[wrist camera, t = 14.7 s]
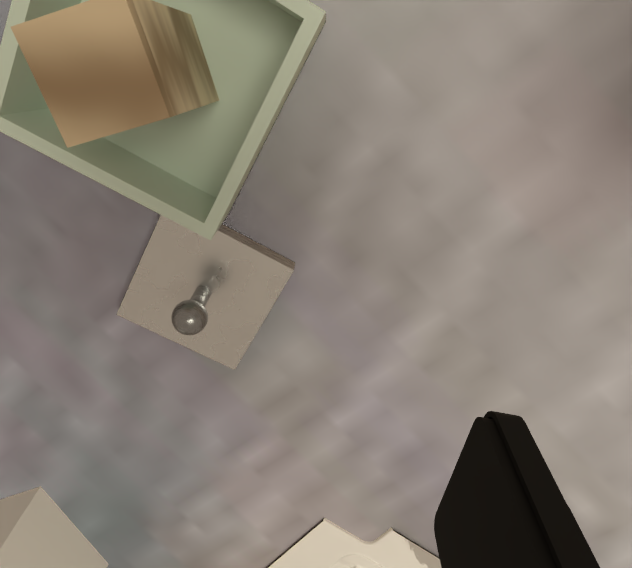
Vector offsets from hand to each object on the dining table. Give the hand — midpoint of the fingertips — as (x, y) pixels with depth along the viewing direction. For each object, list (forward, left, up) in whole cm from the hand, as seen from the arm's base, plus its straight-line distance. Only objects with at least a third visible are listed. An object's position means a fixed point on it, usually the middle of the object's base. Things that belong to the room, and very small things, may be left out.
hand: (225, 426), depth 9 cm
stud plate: (+12, -2, -27) cm, 29 cm away
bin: (-1, -10, -27) cm, 28 cm away
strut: (-1, -10, -26) cm, 28 cm away
